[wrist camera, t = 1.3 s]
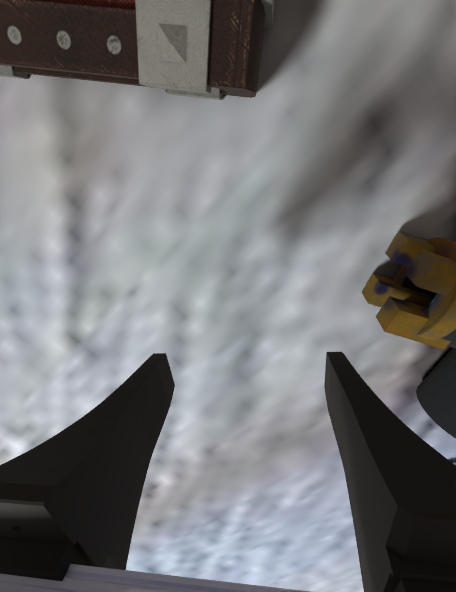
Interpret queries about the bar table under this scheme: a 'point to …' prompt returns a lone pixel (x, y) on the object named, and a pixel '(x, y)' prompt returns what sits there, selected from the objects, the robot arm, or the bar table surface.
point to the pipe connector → (423, 313)
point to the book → (139, 42)
